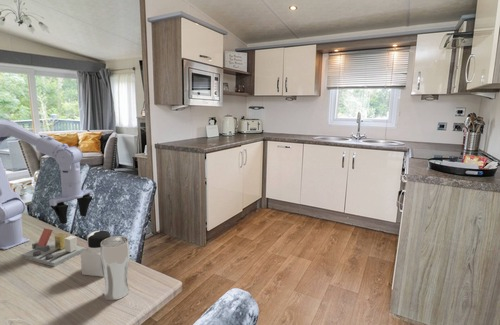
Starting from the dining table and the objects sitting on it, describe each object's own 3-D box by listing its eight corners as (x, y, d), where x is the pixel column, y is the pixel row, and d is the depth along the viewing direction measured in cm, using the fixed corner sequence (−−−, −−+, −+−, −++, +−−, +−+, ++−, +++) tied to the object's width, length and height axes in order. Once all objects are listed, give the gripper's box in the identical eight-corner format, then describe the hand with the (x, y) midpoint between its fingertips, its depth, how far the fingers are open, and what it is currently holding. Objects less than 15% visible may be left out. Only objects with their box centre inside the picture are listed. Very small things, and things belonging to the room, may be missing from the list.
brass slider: (55, 248, 92) (54, 236, 92) (62, 245, 95) (61, 233, 94) (60, 249, 92) (59, 237, 91) (67, 246, 94) (66, 234, 93)
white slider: (65, 250, 91) (64, 238, 90) (72, 247, 93) (71, 235, 93) (70, 252, 90) (69, 239, 90) (77, 248, 93) (76, 236, 92)
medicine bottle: (118, 264, 87) (116, 229, 85) (104, 277, 80) (102, 239, 78) (97, 262, 88) (95, 227, 86) (81, 275, 81) (79, 237, 79)
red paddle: (34, 247, 92) (43, 228, 94) (37, 248, 93) (46, 228, 95) (42, 249, 91) (50, 229, 93) (45, 250, 92) (53, 230, 94)
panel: (20, 257, 89) (19, 249, 88) (53, 242, 99) (53, 235, 99) (54, 266, 84) (53, 258, 84) (85, 250, 95) (84, 243, 94)
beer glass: (136, 288, 76) (135, 238, 73) (116, 304, 69) (114, 249, 67) (116, 282, 78) (114, 233, 75) (96, 297, 71) (93, 244, 69)
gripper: (59, 188, 86) (62, 228, 89) (97, 179, 100) (99, 214, 102) (43, 185, 88) (46, 225, 91) (83, 177, 102) (85, 211, 104)
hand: (73, 219), depth 97 cm, fingers open, 7 cm apart
